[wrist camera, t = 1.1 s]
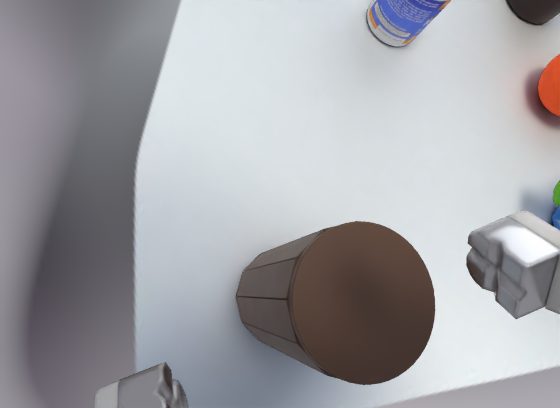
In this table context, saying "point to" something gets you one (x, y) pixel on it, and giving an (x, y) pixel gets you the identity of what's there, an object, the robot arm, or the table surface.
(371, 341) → the container
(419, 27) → the pill bottle
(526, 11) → the vinegar
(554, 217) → the snack cup
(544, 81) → the clementine
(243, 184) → the table surface
